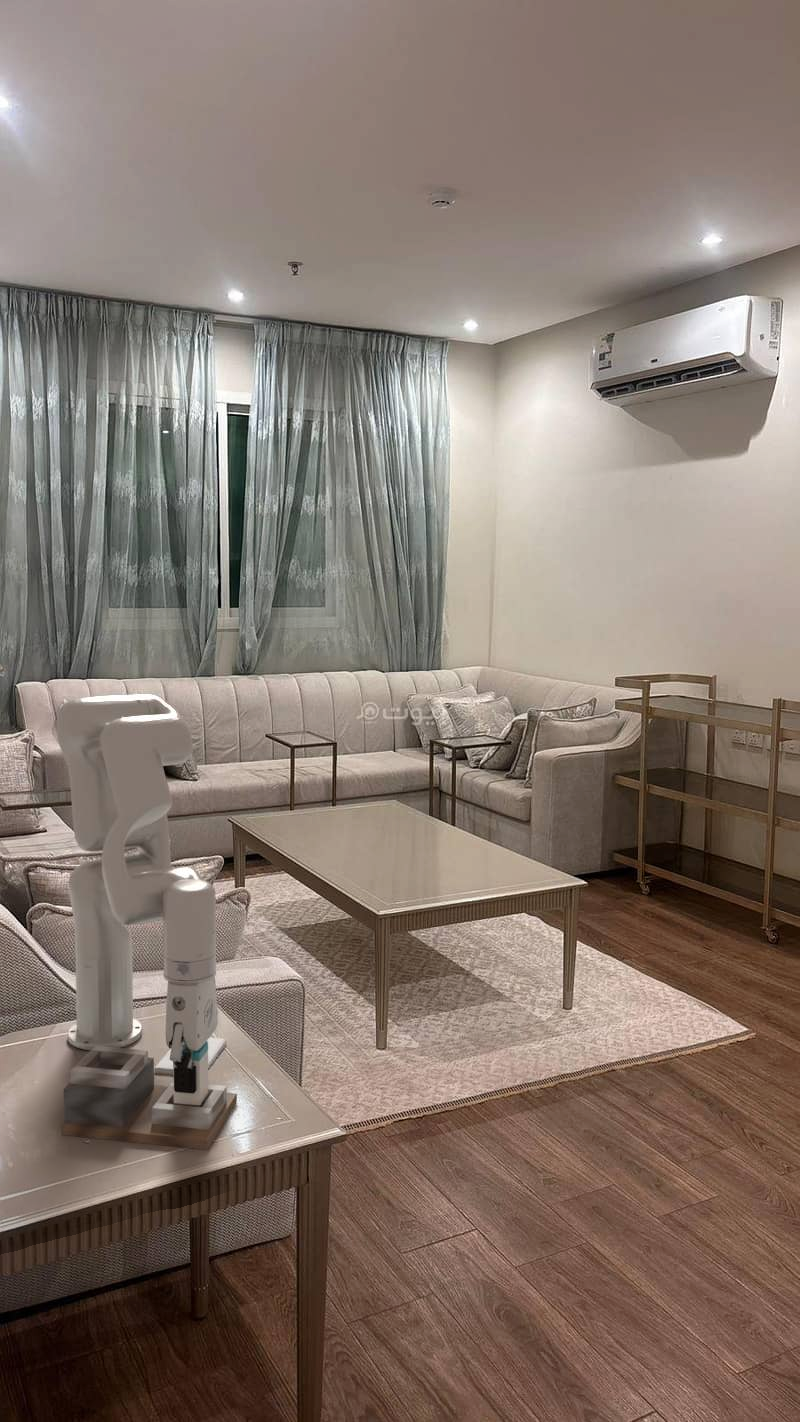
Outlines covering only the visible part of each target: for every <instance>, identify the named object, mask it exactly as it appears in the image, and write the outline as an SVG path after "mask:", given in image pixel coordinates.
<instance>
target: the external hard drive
mask: <svg viewBox="0 0 800 1422" xmlns="http://www.w3.org/2000/svg"><path fill="white" fill-rule="evenodd" d="M207 1042H208V1068H209V1069H210V1067H211V1066H212V1065H213V1063H214V1062H215V1060H216V1059H217V1058H218V1057H219V1055H220V1054H221V1052H222V1051H223V1049H224V1048H226V1045H227V1040H226V1039H225V1038H222V1037H221V1038H219V1037H211V1036H210V1037H209V1039H208V1040H207ZM170 1053H171V1049H170V1048H169V1050H168V1051H167V1053H166V1054H165V1055H164V1056H163V1057H162V1059H161V1060H159V1062H158V1063H157V1065H156V1066H154V1074H155V1073H156V1074H163V1075H164V1074H165V1075H173V1061H171V1060H170ZM219 1053H220V1054H219ZM216 1057H217V1058H216ZM213 1061H214V1062H213ZM211 1064H212V1065H211ZM210 1065H211V1066H210Z"/></svg>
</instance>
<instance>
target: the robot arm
mask: <svg viewBox="0 0 800 1422" xmlns="http://www.w3.org/2000/svg"><path fill="white" fill-rule="evenodd" d="M55 723H56V724H55V725H56V736H57V740H58V741H57V742H58V744H59V748H60V751H61V754H62V755H63V758H64V761H65V764H66V766H67V769H68V774H69V783H70V796H71V797H70V798H71V809H72V810H71V811H72V825H73V832H74V839H75V842H76V844H77V846H78V848H79V849H81V850H82V851H84V852H89V853H96V852H97V853H99V852H102V854H101V859H94V860H91V861H87V862H83V863H82V864H79V865H78V866H76V867H75V868H74V869H73V870H72V872H71V873H70V875H69V877H68V884H67V885H68V888H67V889H68V894H69V900H70V905H71V910H72V911H71V912H72V917H73V925H74V928H73V929H74V942H75V943H74V948H75V949H74V951H75V952H74V953H75V994H76V995H75V996H76V997H75V1000H76V1001H75V1003H76V1005H75V1006H74V1010H75V1012H76V1023H75V1024H73V1025H72V1026H71V1027H70V1028H69V1030H68V1031H67V1041H68V1042H69V1044H70V1045H72V1046H73V1047H75V1048H77V1049H80V1050H83V1051H90V1050H91V1049H92V1048H93V1047H94V1046H104V1047H115V1048H124V1047H127V1046H128V1045H131V1044H133V1043H135V1042H136V1041H137V1040H139V1039H140V1037H142V1035H143V1026H142V1023H141V1022H140V1021H139V1020H137V1019H136V1018H134V1003H133V1002H134V997H133V996H134V993H133V992H134V991H133V990H134V987H133V986H134V983H133V981H134V979H133V978H134V977H133V970H134V969H133V939H132V935H131V932H130V930H129V928H128V927H127V926H139V925H144V924H150V923H155V922H161V921H162V922H163V923H162V924H163V925H162V927H163V928H162V929H163V933H162V934H163V936H162V938H163V942H162V943H163V951H162V952H163V979H164V980H166V981H167V988H166V989H167V991H166V1002H165V1003H166V1004H165V1007H166V1008H165V1043H166V1046H167V1047H168V1049H169V1050H170V1049H171V1053H170V1060H171V1061H173V1067H174V1091H175V1092H181V1093H192V1094H193V1093H195V1092H196V1066H194V1051H197V1050H199V1049H200V1048H201V1047H202V1046H203V1045H204V1044H205V1042H207V1040H208V1039H209V1037H211V1036H212V1035H213V1033H214V1032H215V1031H216V1029H217V1027H218V1024H219V1021H218V999H217V998H218V997H217V984H216V975H217V928H216V927H217V922H216V921H217V915H216V912H217V909H216V907H217V906H216V902H217V901H216V899H217V898H216V890H215V887H214V886H213V884H211V883H210V882H209V881H206V880H204V878H203V877H202V876H201V873H200V872H199V871H198V870H197V869H195V868H194V867H191V866H178V867H172V858H171V845H170V843H171V842H170V829H169V821H168V814H167V813H168V812H169V811H170V810H171V808H172V805H173V798H172V795H171V790H170V788H169V785H168V781H167V778H166V774H165V770H164V767H165V766H166V767H167V766H176V765H183V764H184V763H187V761H188V760H189V759H190V758H191V755H192V752H193V737H192V733H191V730H190V728H189V725H188V723H187V721H186V720H185V719H184V718H183V716H182V715H181V714H180V713H179V712H178V711H177V710H176V709H175V708H173V707H172V706H171V705H170V704H169V703H167V702H165V701H164V699H162V698H160V697H159V696H158V695H154V694H149V693H148V694H146V693H145V694H144V693H143V694H140V693H139V694H124V695H122V694H121V695H100V696H98V695H97V696H96V695H95V696H86V697H79V698H75V699H71V700H69V701H66V702H65V703H63V704H62V705H61V706H60V708H59V710H58V712H57V715H56V721H55ZM132 848H137V851H138V854H132V855H125V849H132ZM183 1042H186V1044H187V1045H183ZM182 1051H188V1057H187V1056H186V1055H183V1054H182Z"/></svg>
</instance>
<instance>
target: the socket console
mask: <svg viewBox="0 0 800 1422" xmlns="http://www.w3.org/2000/svg"><path fill="white" fill-rule="evenodd" d="M154 1065H155V1058H154V1057H149V1050H145V1049H135V1048H124V1047H121V1048H115V1047H104V1046H94V1047H93V1048H92V1049H91V1050H88V1052H87V1053H86V1055H84V1056H83V1057H82V1058H81V1060H79V1062H77V1063H76V1065H74V1066H73V1068H71V1069H70V1073H69V1074H70V1081H69V1083H68V1084H67V1085H66V1086H65V1087H64V1088H63V1122H62V1123H61V1124H60V1132H61V1134H60V1135H61V1136H69V1135H71V1137H79V1136H80V1137H82V1138H89V1139H98V1140H110V1141H119V1142H127V1143H128V1142H129V1143H135V1144H139V1143H140V1144H146V1145H147V1144H148V1145H156V1146H165V1147H174V1148H184V1149H185V1148H186V1149H193V1150H194V1149H195V1150H203V1151H208V1150H209V1148H210V1147H211V1145H212V1143H213V1141H214V1140H215V1138H216V1137H217V1135H218V1134H219V1132H220V1130H221V1128H222V1127H223V1125H224V1124H225V1122H226V1121H227V1119H228V1118H227V1117H229V1116H230V1114H231V1113H230V1112H232V1111H233V1109H234V1108H235V1107H236V1105H237V1103H238V1097H237V1095H238V1093H234V1092H227V1091H228V1089H227V1085H222V1084H221V1085H220V1084H210V1083H208V1090H209V1093H208V1094H207V1096H206V1097H205V1099H204V1100H203V1102H202V1103H201V1105H190V1104H178V1103H174V1086H173V1081H171V1082H170V1084H169V1086H162V1085H155V1073H154V1068H155V1066H154ZM236 1102H237V1103H236ZM235 1104H236V1105H235ZM62 1134H63V1135H62Z"/></svg>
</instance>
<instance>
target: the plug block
mask: <svg viewBox="0 0 800 1422" xmlns="http://www.w3.org/2000/svg"><path fill="white" fill-rule="evenodd" d="M183 1045H187V1044H186V1042H183ZM182 1054H183V1055H186V1056H187V1057H188V1051H182ZM194 1066H196V1092H195V1093H193V1094H192V1093H181V1092H175V1091H174V1103H178V1104H190V1105H201V1103H202V1102H203V1100H204V1099H205V1097H206V1096H207V1094H208V1093H209V1090H208V1084H209V1069H208V1042H205V1044H204V1045H203V1046H202V1047H201V1048H200V1049H199V1050H197V1051H194ZM172 1075H173V1076H172V1077H173V1078H172V1079H173V1081H172V1082H173V1086H174V1067H173V1074H172Z"/></svg>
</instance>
